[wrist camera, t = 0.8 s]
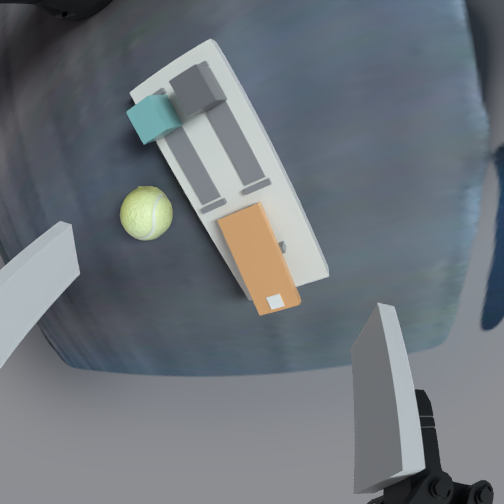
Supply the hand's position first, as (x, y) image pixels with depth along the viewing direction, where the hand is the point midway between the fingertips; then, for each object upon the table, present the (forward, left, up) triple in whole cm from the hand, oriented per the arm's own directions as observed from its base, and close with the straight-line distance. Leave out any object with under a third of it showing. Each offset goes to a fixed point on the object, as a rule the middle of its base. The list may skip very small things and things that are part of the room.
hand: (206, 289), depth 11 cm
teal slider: (-10, -8, -21) cm, 24 cm away
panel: (0, -5, -23) cm, 24 cm away
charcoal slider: (-10, -2, -21) cm, 23 cm away
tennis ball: (-2, -16, -23) cm, 28 cm away
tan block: (+9, -5, -19) cm, 22 cm away
